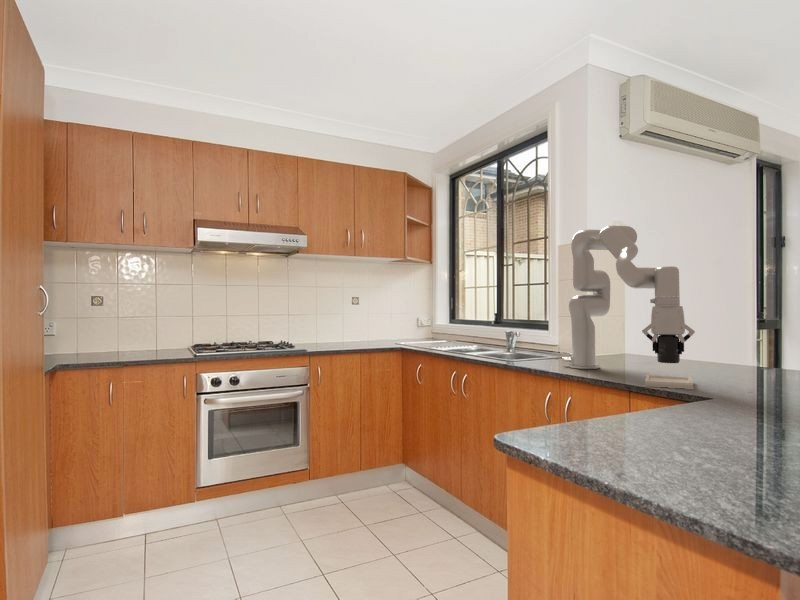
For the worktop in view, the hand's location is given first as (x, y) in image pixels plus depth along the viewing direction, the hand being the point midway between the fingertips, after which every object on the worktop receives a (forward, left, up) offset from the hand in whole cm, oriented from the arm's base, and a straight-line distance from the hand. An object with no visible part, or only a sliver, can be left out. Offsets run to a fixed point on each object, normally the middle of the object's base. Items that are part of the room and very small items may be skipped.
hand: (668, 353), depth 164 cm
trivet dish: (0, 0, -11) cm, 11 cm away
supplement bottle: (0, 0, -3) cm, 3 cm away
